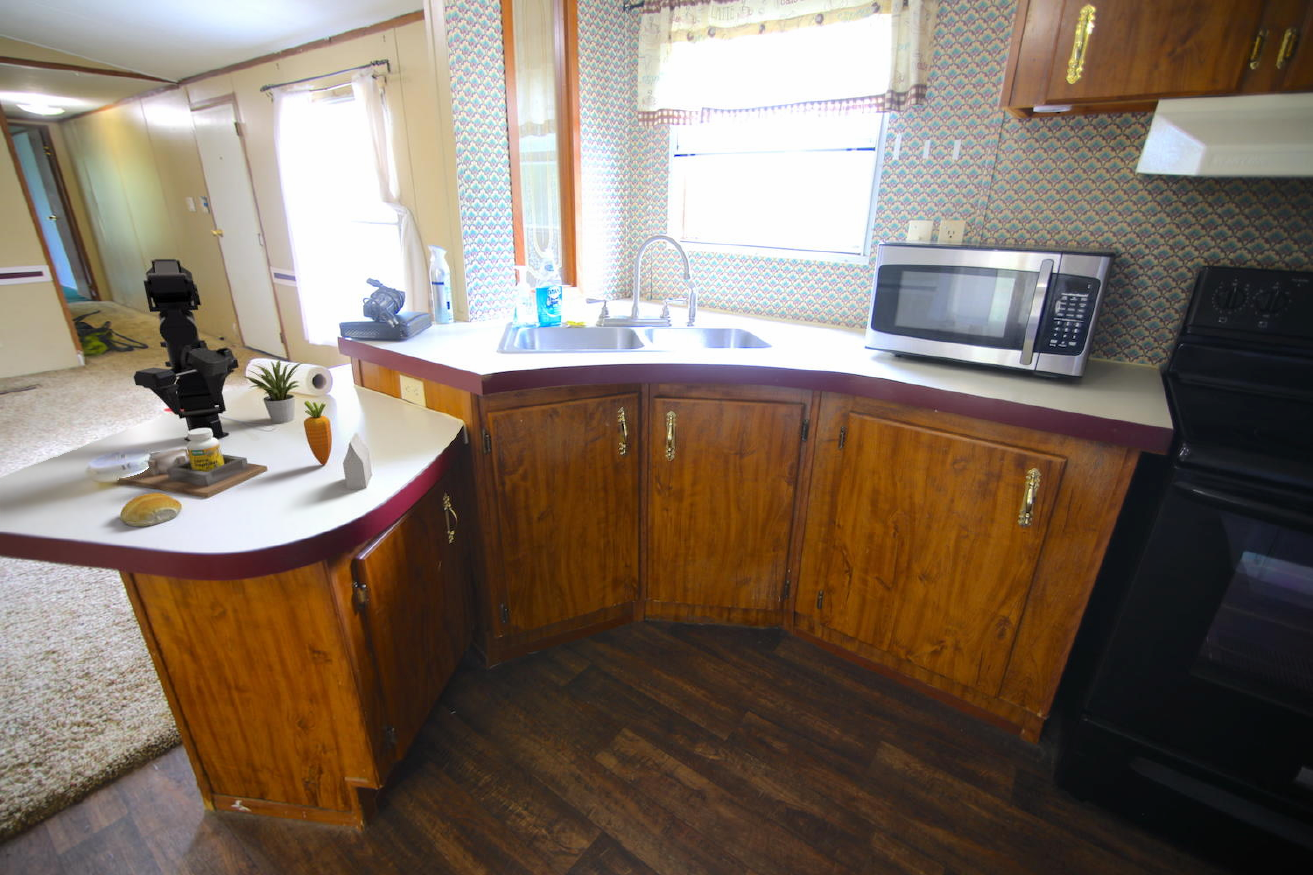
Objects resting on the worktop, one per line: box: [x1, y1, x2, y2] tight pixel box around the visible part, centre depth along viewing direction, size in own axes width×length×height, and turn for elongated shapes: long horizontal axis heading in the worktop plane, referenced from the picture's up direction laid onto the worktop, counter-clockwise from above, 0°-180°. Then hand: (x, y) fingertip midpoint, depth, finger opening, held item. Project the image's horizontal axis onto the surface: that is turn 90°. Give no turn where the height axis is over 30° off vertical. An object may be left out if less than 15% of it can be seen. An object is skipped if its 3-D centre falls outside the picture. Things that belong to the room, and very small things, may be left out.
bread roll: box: [119, 492, 183, 528], centre depth 107 cm, size 8×9×4 cm
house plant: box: [243, 359, 307, 424], centre depth 156 cm, size 14×14×16 cm
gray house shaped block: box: [342, 432, 373, 490], centre depth 123 cm, size 4×7×10 cm, turn 16°
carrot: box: [303, 400, 333, 466], centre depth 129 cm, size 5×5×15 cm
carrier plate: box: [117, 448, 268, 499], centre depth 123 cm, size 22×14×4 cm, turn 77°
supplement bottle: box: [186, 428, 224, 472], centre depth 121 cm, size 5×5×10 cm
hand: (198, 408), depth 128 cm, fingers open, 9 cm apart
